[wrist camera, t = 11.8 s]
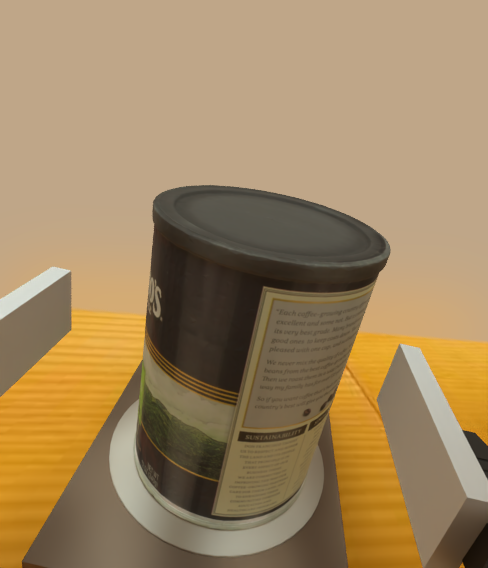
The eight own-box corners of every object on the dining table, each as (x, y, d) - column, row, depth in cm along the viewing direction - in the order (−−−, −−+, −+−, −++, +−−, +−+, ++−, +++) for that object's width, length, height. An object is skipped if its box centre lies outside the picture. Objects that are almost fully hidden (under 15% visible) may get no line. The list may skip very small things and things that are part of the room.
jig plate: (318, 406, 31) (334, 360, 29) (342, 663, 17) (376, 604, 15) (147, 369, 32) (151, 321, 30) (24, 589, 17) (18, 522, 15)
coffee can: (101, 510, 18) (113, 223, 13) (161, 375, 28) (184, 174, 22) (316, 553, 18) (428, 285, 13) (304, 403, 28) (365, 210, 22)
